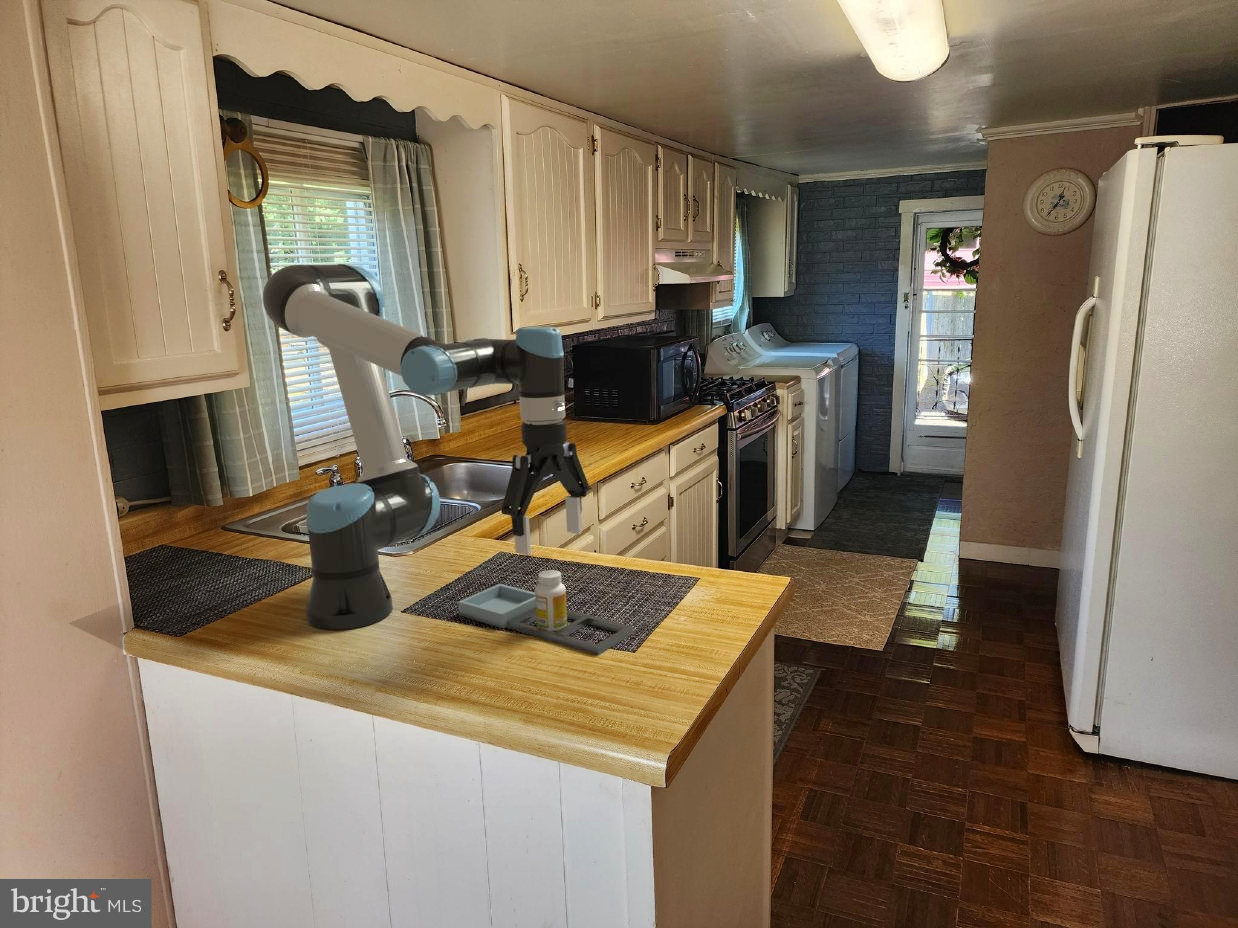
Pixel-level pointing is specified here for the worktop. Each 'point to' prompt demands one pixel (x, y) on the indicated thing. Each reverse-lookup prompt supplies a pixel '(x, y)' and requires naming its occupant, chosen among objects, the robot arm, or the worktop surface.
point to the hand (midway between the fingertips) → (549, 542)
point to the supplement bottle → (550, 601)
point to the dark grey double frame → (572, 630)
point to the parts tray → (497, 605)
